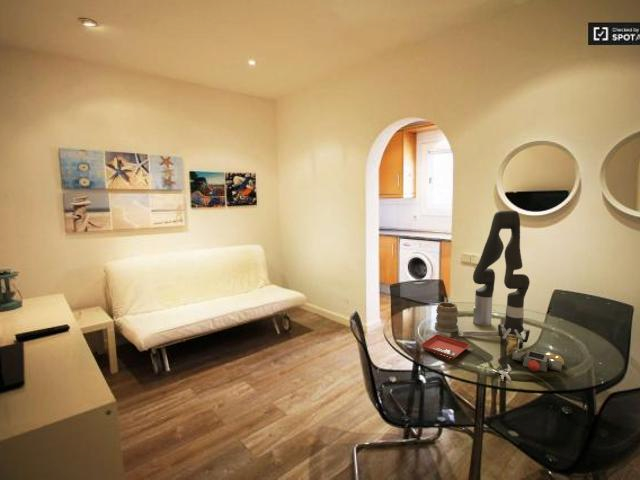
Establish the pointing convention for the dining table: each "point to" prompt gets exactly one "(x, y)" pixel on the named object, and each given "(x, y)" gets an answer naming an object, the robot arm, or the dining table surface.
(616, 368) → the dining table surface
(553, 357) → the brass elbow
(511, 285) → the robot arm
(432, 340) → the plant saucer
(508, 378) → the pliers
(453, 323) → the tankard
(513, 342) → the brass knob
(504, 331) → the wrench
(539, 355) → the valve body
